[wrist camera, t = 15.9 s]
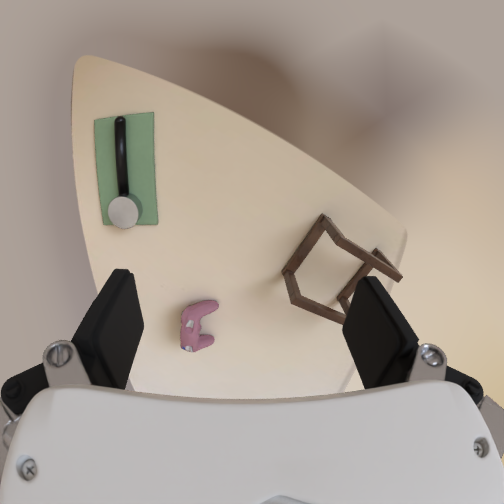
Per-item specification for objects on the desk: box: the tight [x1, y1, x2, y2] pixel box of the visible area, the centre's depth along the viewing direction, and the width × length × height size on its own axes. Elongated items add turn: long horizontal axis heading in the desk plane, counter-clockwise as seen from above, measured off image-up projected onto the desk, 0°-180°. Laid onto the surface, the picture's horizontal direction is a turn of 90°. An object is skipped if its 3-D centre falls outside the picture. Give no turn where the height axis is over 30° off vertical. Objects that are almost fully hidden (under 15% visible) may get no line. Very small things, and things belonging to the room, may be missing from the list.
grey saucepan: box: [108, 116, 143, 229], centre depth 33 cm, size 16×5×2 cm, turn 177°
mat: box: [94, 112, 158, 225], centre depth 34 cm, size 16×9×1 cm, turn 177°
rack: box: [282, 214, 403, 325], centre depth 39 cm, size 11×13×8 cm
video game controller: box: [180, 300, 219, 352], centre depth 45 cm, size 10×5×7 cm, turn 170°
